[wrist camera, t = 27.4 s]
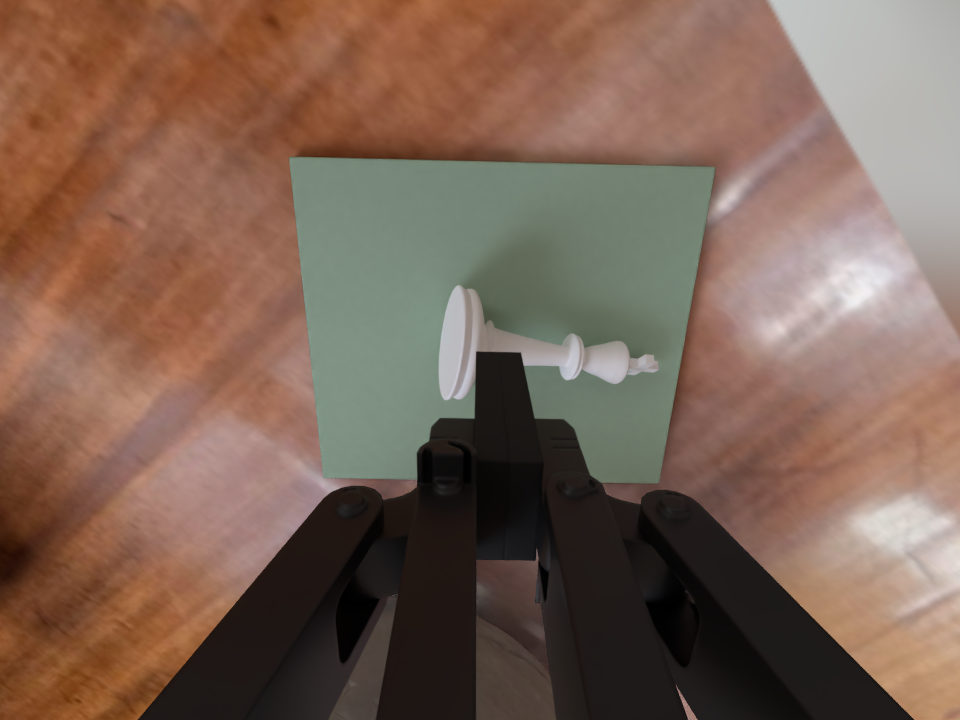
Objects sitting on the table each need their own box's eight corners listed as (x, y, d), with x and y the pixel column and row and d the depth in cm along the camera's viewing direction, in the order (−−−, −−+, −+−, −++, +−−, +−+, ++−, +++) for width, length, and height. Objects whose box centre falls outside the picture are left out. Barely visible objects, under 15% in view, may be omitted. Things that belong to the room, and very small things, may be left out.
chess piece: (435, 412, 24) (632, 428, 26) (461, 380, 19) (695, 404, 22) (440, 313, 25) (624, 338, 28) (465, 263, 21) (681, 297, 23)
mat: (293, 156, 22) (288, 156, 22) (710, 166, 23) (716, 167, 22) (326, 472, 28) (323, 478, 28) (655, 477, 29) (659, 484, 28)
